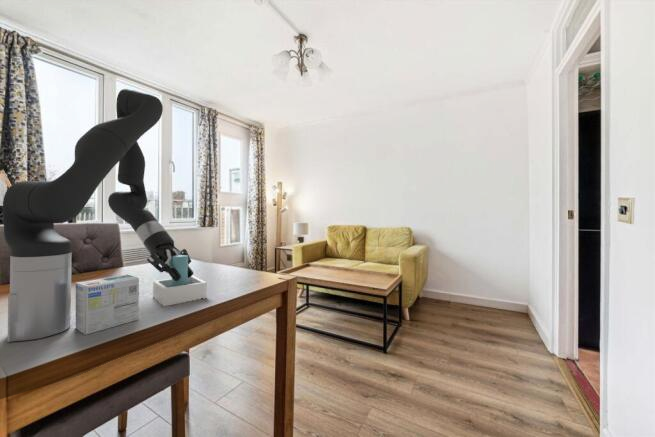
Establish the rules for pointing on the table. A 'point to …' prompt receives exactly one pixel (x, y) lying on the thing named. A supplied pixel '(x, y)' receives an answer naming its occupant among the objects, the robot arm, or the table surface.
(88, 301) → the light bulb box
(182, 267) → the peg
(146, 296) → the table surface
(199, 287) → the hole box
